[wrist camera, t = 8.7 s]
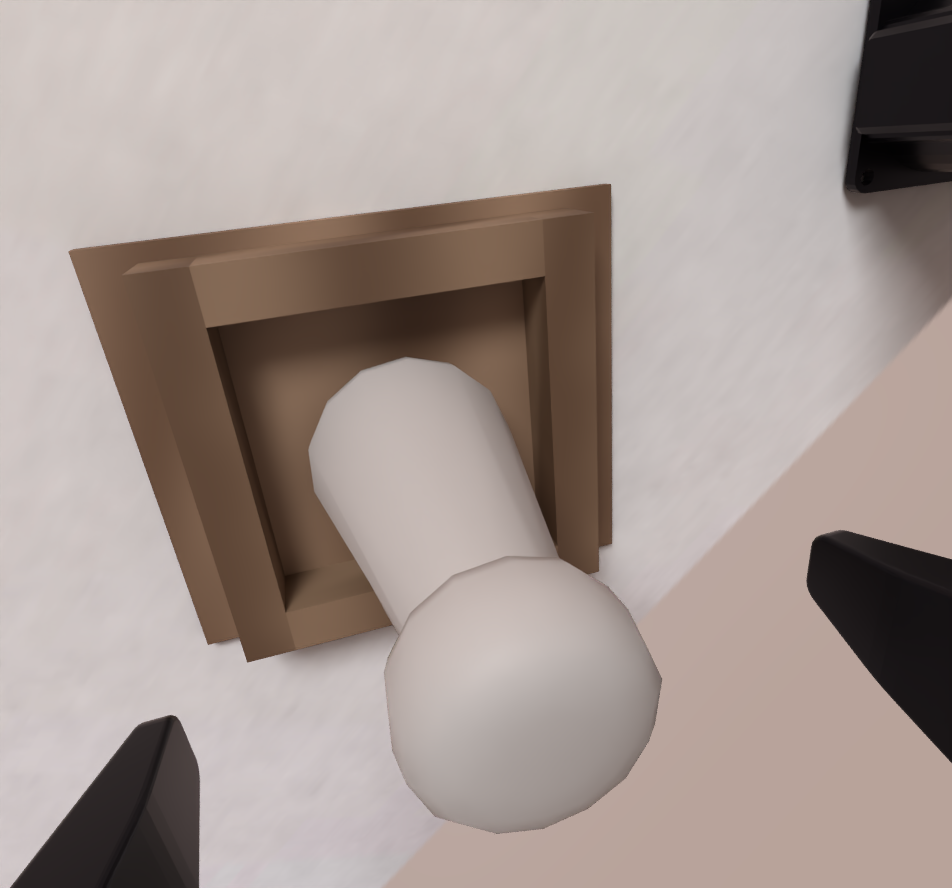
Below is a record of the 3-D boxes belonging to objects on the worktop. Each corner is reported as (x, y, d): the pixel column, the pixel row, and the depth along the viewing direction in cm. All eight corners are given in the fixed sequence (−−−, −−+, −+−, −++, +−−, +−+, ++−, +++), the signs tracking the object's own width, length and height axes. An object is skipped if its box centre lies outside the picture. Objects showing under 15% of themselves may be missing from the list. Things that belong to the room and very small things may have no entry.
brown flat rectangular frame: (605, 183, 20) (644, 186, 18) (607, 538, 25) (637, 572, 23) (73, 249, 17) (42, 262, 14) (209, 636, 22) (201, 687, 20)
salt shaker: (442, 525, 22) (613, 906, 11) (280, 481, 20) (281, 903, 9) (514, 374, 21) (798, 635, 9) (347, 308, 19) (456, 545, 7)
